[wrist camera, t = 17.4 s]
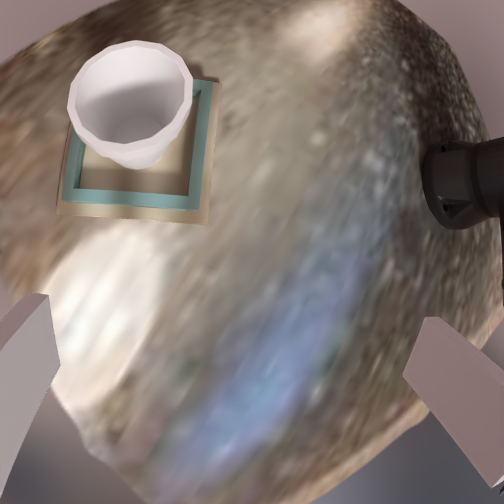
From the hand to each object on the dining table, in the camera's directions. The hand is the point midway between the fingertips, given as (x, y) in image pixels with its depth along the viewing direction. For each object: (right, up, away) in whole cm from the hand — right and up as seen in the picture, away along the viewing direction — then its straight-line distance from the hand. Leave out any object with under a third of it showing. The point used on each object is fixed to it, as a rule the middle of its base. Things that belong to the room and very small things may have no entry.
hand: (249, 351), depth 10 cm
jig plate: (-13, +15, +23) cm, 30 cm away
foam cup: (-12, +15, +22) cm, 30 cm away
